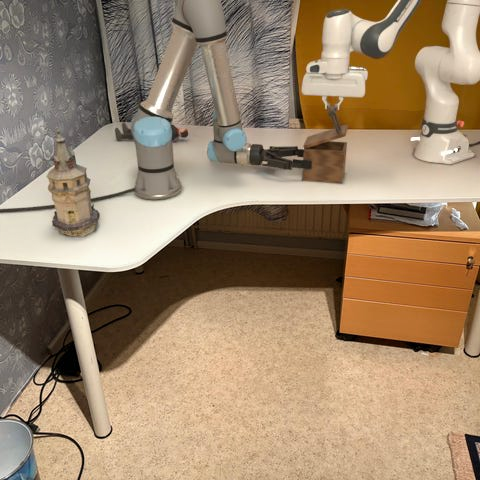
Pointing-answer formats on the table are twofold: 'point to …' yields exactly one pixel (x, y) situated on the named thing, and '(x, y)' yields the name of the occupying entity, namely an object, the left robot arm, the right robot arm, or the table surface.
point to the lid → (327, 132)
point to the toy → (128, 135)
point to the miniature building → (70, 193)
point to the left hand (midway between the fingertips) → (313, 159)
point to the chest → (326, 162)
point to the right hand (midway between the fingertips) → (332, 109)
